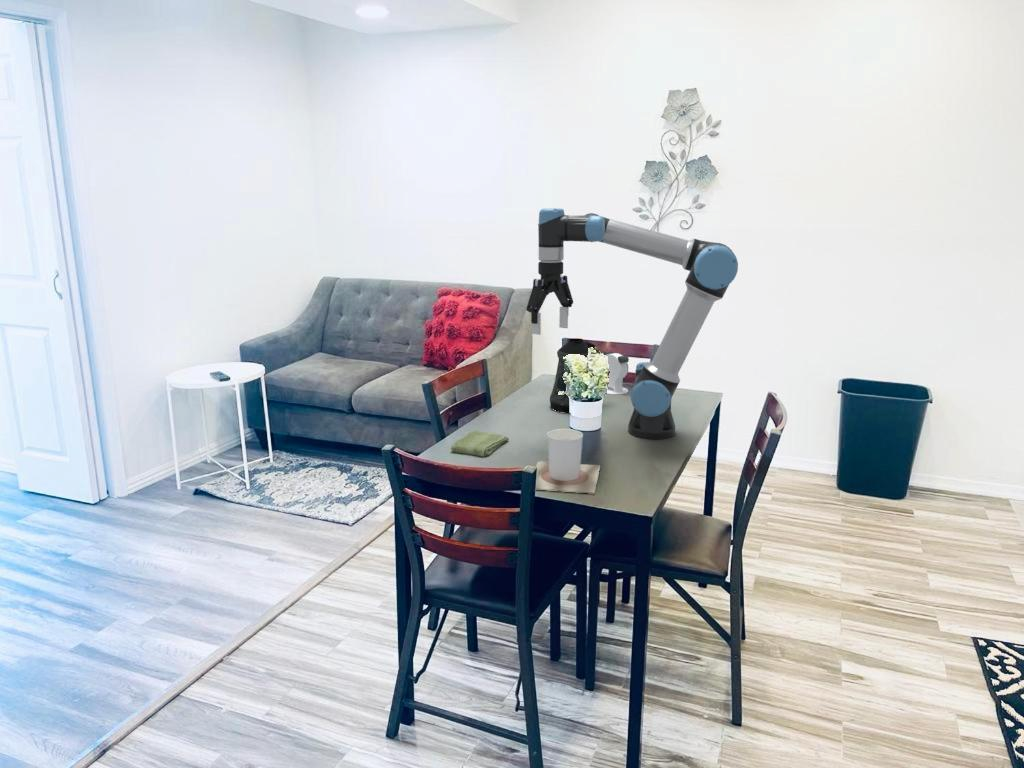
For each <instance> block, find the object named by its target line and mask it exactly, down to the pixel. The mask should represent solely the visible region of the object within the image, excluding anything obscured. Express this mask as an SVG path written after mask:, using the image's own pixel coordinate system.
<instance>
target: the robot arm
mask: <svg viewBox="0 0 1024 768" xmlns="http://www.w3.org/2000/svg"><path fill="white" fill-rule="evenodd" d="M537 225H538V230H537V231H538V260H539V262H538V263H537V267H538V271H537V273H538V275H540V279H539V278H533V281H532V288H531V292H530V294H529V295H530V296H529V299H528V302H527V306H526V308H525V310H526V312H528V313H530V316H531V318H530V319H531V334H532V335H538V336H541V334H542V333H541V332H542V331H541V328H542V327H541V326H542V323H541V321H542V319H541V316H542V315H541V312H540V311H541V309H542V305H544V302H545V301H546V298H547V296H548V295H550V294H551V293H554V294H555V296H556V298H557V300H558V302H559V304H560V305H561V306H559V318H558V319H559V323H558V325H559V326H558V327H559V328H561V329H568V327H569V308H571V307H573V306H572V305H573V304H574V299H573V297H572V292H571V289H570V285H569V282H568V276H567V275H563V274H564V259H565V258H564V256H565V255H564V254H565V253H564V249H565V248H564V242H584V243H585V242H586V243H587V242H590V243H596V242H597V243H598V242H599V243H604V244H607V245H610V246H613V247H617V248H621V249H625V250H628V251H631V252H634V253H637V254H638V253H639V254H642V255H645V256H649V257H652V258H655V259H658V260H662V261H666V262H670V263H672V264H676V265H679V266H682V268H683V270H685V271H689V273H688V275H687V277H686V278H685V281H684V282H685V286H686V287H685V288H686V291H685V293H684V295H683V297H682V299H681V301H680V303H679V306H678V307H677V309H676V311H675V313H674V315H673V318H672V319H671V322H670V323H669V325H668V327H667V330H666V331H665V334H664V336H663V338H662V340H661V342H660V344H659V346H658V348H657V350H656V352H655V354H654V356H653V358H652V360H651V361H645V362H638V363H637V364H636V365H635V381H634V384H633V387H632V389H631V392H630V400H631V404H632V407H633V411H632V414H631V416H630V419H629V421H628V424H627V426H628V427H627V428H628V430H627V431H628V433H629V434H630V435H632V436H634V437H637V438H643V439H650V440H660V439H662V440H663V439H668V438H671V437H674V436H675V435H676V423H675V420H674V417H673V413H672V398H673V396H674V394H675V392H676V390H677V388H678V386H679V384H680V381H681V378H680V375H679V372H680V370H681V368H682V366H683V365H684V362H685V361H686V359H687V357H688V355H689V352H690V350H691V349H692V347H693V345H694V344H695V341H696V339H697V337H698V335H699V333H700V331H701V329H702V327H703V325H704V323H705V321H706V319H707V317H708V315H709V314H710V311H711V309H712V307H713V306H714V304H715V302H716V301H719V300H722V299H723V298H724V295H725V294H726V292H727V289H728V288H729V286H730V284H731V283H732V282H733V281H734V280H735V278H736V276H737V274H738V269H739V263H738V259H737V256H736V254H735V253H734V251H733V250H732V249H731V248H730V247H729V246H727V245H726V244H723V243H721V242H713V241H706V240H701V239H696V238H691V239H690V240H688V239H684V238H680V237H676V236H673V235H670V234H666V233H662V232H659V231H656V230H651V229H648V228H644V227H640V226H638V225H633V224H629V223H627V222H623V221H620V220H616V219H611V218H607V217H605V216H602V215H599V214H597V213H593V212H590V213H587V214H584V215H566V214H565V210H564V208H554V207H553V208H550V207H549V208H541V209H540V210H539V213H538V224H537Z"/></svg>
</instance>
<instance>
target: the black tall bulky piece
mask: <svg viewBox="0 0 1024 768" xmlns="http://www.w3.org/2000/svg"><path fill="white" fill-rule="evenodd" d="M589 347H593V348H594V349H595V350H596V351H597V352H599V353H601V351H599V350H597V349H596V345H595V344H593V343H591V342H589V341H585V342H584V340H583V338H577V337H576V338H570V339H568V340H567V343H565V344H564V345H562V347H560V348H559V349H558V350H557V352H556V354H557V358H558V361H557V367H556V374H555V379H554V384H553V387H552V389H551V390H552V391H551V392H550V395H549V403H550V409H552V410H553V409H554V410H556V411H555V412H557V411H559V412H558V413H560V412H565V413H564V414H570V413H569V398H568V396H567V395H566V394H564V395H558V392H559V391H564V392H565V391H566V384H565V383H564V380H563V378H562V376H563V374H564V373H565V370H564V362H563V356H564V357H565V356H566V355H568V354H580V355H584V356H585V357H587V355H588V348H589ZM554 410H553V411H554Z"/></svg>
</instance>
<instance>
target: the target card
mask: <svg viewBox="0 0 1024 768" xmlns="http://www.w3.org/2000/svg"><path fill="white" fill-rule="evenodd" d="M535 467H537V468H538V476H537V486H536V490H542V489H544V490H557V491H566V492H576V493H575V494H578V493H588V494H587V495H593V494H596V489H597V486H596V485H598V480H599V476H600V472H601V465H600V464H599V465H597V464H586V463H585V464H583V463H581V465H580V475H579V477H578V478H577V479H575V480H571V481H559V480H555V479H553V478H551V477H550V475H549V461H537V464H536V465H535ZM599 471H600V472H599ZM536 490H535V491H536Z"/></svg>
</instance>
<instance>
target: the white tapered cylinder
mask: <svg viewBox="0 0 1024 768" xmlns="http://www.w3.org/2000/svg"><path fill="white" fill-rule="evenodd" d="M546 437H547V456H548V458H547V459H548V461H547V462H549V475H550V477H551V478H553V479H555V480H559V481H571V480H575V479H577V478H578V477H579V475H580V465H581V464H582V452H583V438H584V433H583V432H581V431H579V430H577V429H571V428H557V429H552V430H549V431H548V432H547V433H546Z"/></svg>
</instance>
